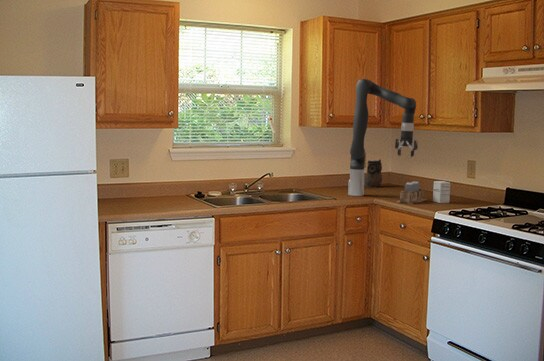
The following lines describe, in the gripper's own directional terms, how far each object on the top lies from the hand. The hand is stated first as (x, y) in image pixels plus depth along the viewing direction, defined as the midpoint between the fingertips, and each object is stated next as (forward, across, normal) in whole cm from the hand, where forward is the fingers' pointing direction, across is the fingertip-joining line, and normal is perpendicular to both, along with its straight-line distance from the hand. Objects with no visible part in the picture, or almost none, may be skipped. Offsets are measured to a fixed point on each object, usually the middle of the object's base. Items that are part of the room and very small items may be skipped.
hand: (405, 156), depth 400 cm
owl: (+28, +48, -45) cm, 72 cm away
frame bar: (+21, -9, +6) cm, 23 cm away
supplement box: (+27, -24, -4) cm, 36 cm away
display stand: (+27, -9, +6) cm, 29 cm away
